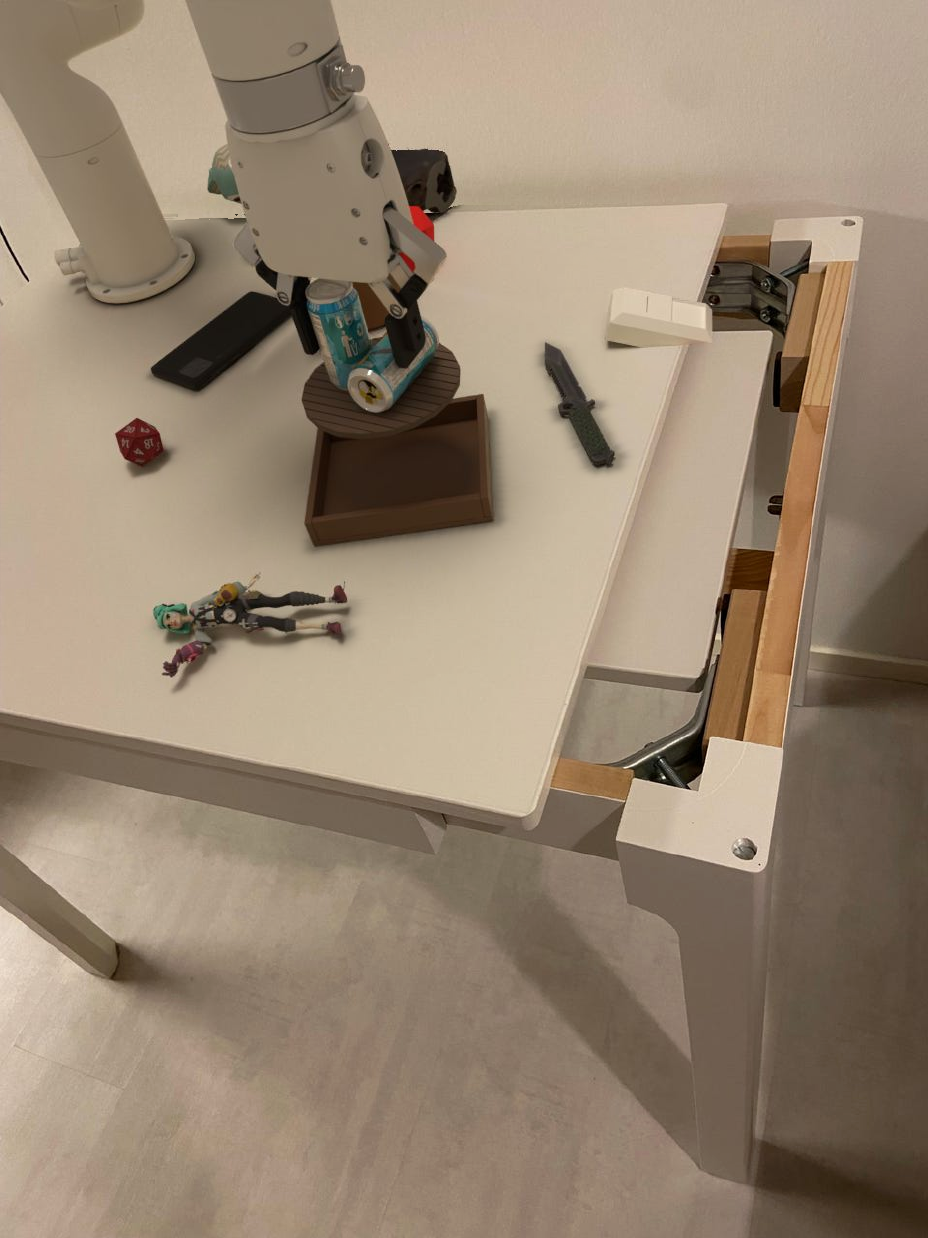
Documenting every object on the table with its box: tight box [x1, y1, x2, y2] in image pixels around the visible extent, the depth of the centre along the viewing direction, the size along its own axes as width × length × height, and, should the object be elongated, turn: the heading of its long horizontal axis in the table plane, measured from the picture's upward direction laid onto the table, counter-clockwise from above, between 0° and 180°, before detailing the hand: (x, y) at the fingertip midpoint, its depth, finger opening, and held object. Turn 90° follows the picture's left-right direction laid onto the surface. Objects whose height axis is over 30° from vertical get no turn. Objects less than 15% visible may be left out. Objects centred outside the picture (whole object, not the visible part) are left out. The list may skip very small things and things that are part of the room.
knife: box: [544, 341, 615, 466], centre depth 79 cm, size 18×1×3 cm
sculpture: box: [391, 148, 458, 214], centre depth 104 cm, size 21×6×12 cm
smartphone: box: [150, 290, 292, 391], centre depth 95 cm, size 7×1×15 cm
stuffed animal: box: [206, 144, 242, 205], centre depth 113 cm, size 11×7×12 cm
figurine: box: [152, 571, 348, 679], centre depth 68 cm, size 7×15×4 cm, turn 101°
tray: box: [304, 393, 494, 547], centre depth 76 cm, size 14×13×2 cm
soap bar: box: [604, 286, 713, 348], centre depth 83 cm, size 5×9×3 cm, turn 81°
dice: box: [114, 417, 165, 468], centre depth 83 cm, size 4×4×4 cm
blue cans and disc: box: [301, 278, 462, 439], centre depth 67 cm, size 12×12×8 cm
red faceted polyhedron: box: [399, 206, 435, 273], centre depth 97 cm, size 7×7×8 cm
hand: (364, 348), depth 68 cm, fingers closed on blue cans and disc, 7 cm apart
